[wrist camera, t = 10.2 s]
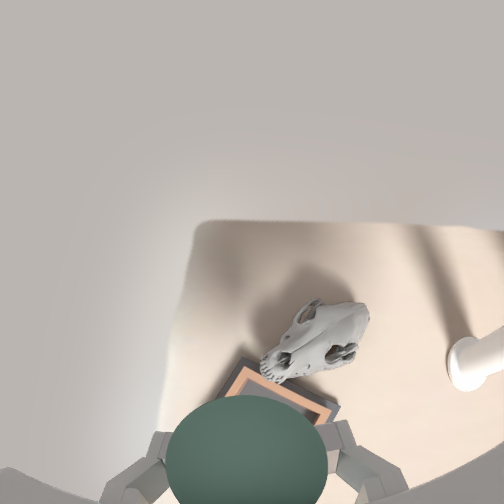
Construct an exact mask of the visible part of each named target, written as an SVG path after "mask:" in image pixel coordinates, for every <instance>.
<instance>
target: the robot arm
mask: <svg viewBox="0 0 504 504" xmlns="http://www.w3.org/2000/svg"><path fill="white" fill-rule="evenodd" d="M313 426H314V427H315V429H316V430H317V431H318V433H319V435H320V436H321V438H322V440H323V443H324V445H325V448H326V452H327V457H328V474H332V473H336V474H337V475H338V476H339V477H340V478H342V479H343V480H344V481H345V482H346V483H347V484H349V485H350V486H351V487H352V488H353V489H355V490H356V491H357V492H358V493H359V494H358V497H357V499H356V501H355V504H504V441H503V442H502V443H500V444H499V445H497V446H496V447H494V448H492V449H491V450H489V451H487V452H486V453H484V454H482V455H481V456H479V457H477V458H475V459H474V460H472V461H470V462H468V463H466V464H464V465H462V466H460V467H459V468H457V469H455V470H453V471H450V472H448V473H446V474H444V475H442V476H440V477H438V478H435V479H433V480H431V481H428V482H426V483H424V484H421V485H419V486H416V487H414V488H411V489H409V488H408V485H407V483H406V481H405V479H404V477H403V474H402V472H401V470H400V468H398V467H396V466H395V465H393V464H391V463H389V462H387V461H386V460H384V459H382V458H381V457H379V456H377V455H375V454H374V453H372V452H370V451H369V450H367V449H365V448H364V447H362V446H361V445H360V446H357V445H356V442H355V439H354V437H353V434H352V431H351V429H350V426H349V424H348V421H347V420H341V421H336V422H330V423H325V424H319V425H313ZM172 434H173V432H159V431H156V432H155V433H154V434H153V437H152V440H151V443H150V446H149V449H148V453H147V455H146V457H142V458H141V459H139V460H138V461H137V462H135V463H134V464H133V465H131V466H130V467H128V468H127V469H126V470H124V471H123V472H121V473H120V474H118V475H117V476H115V477H114V478H113V479H111V480H110V481H108V482H107V484H106V486H105V488H104V491H103V493H102V496H101V499H100V501H99V502H97V501H93V500H90V499H87V498H83V497H80V496H77V495H74V494H72V493H69V492H66V491H63V490H61V489H58V488H55V487H53V486H50V485H48V484H46V483H43V482H41V481H38V480H36V479H34V478H32V477H30V476H27V475H25V474H24V473H21V472H20V471H18V470H16V469H13V468H10V467H7V468H3V469H0V504H153V503H154V502H155V501H156V500H157V499H158V498H159V497H160V496H161V495H162V494H163V493H164V492H165V491H166V490H167V489H168V488H169V487H170V485H169V482H168V479H167V475H166V467H165V459H166V451H167V447H168V443H169V441H170V438H171V436H172Z"/></svg>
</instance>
